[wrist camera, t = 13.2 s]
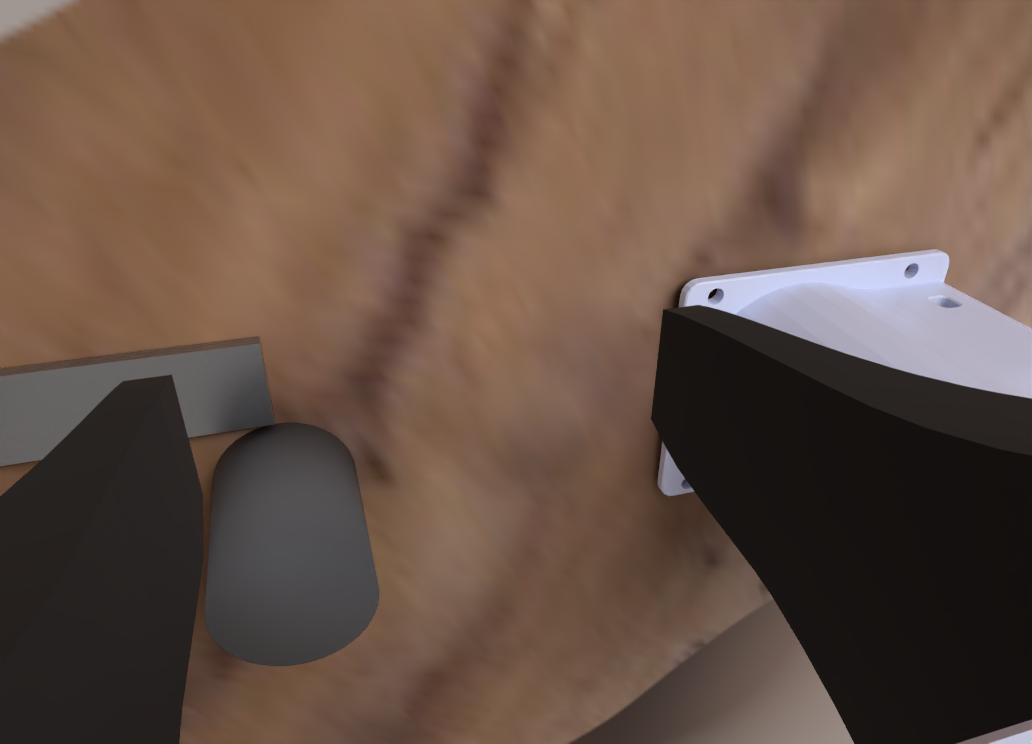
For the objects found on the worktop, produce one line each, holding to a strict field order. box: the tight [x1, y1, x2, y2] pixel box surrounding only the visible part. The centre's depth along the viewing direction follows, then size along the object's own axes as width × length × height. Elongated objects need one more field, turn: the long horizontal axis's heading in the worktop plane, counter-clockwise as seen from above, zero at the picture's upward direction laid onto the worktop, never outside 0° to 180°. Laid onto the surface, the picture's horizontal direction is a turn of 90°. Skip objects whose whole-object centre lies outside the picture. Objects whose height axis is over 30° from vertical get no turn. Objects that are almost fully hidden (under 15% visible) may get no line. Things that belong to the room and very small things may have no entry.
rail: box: [0, 337, 275, 466], centre depth 19 cm, size 11×2×1 cm, turn 90°
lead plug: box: [205, 423, 379, 666], centre depth 20 cm, size 4×4×5 cm
